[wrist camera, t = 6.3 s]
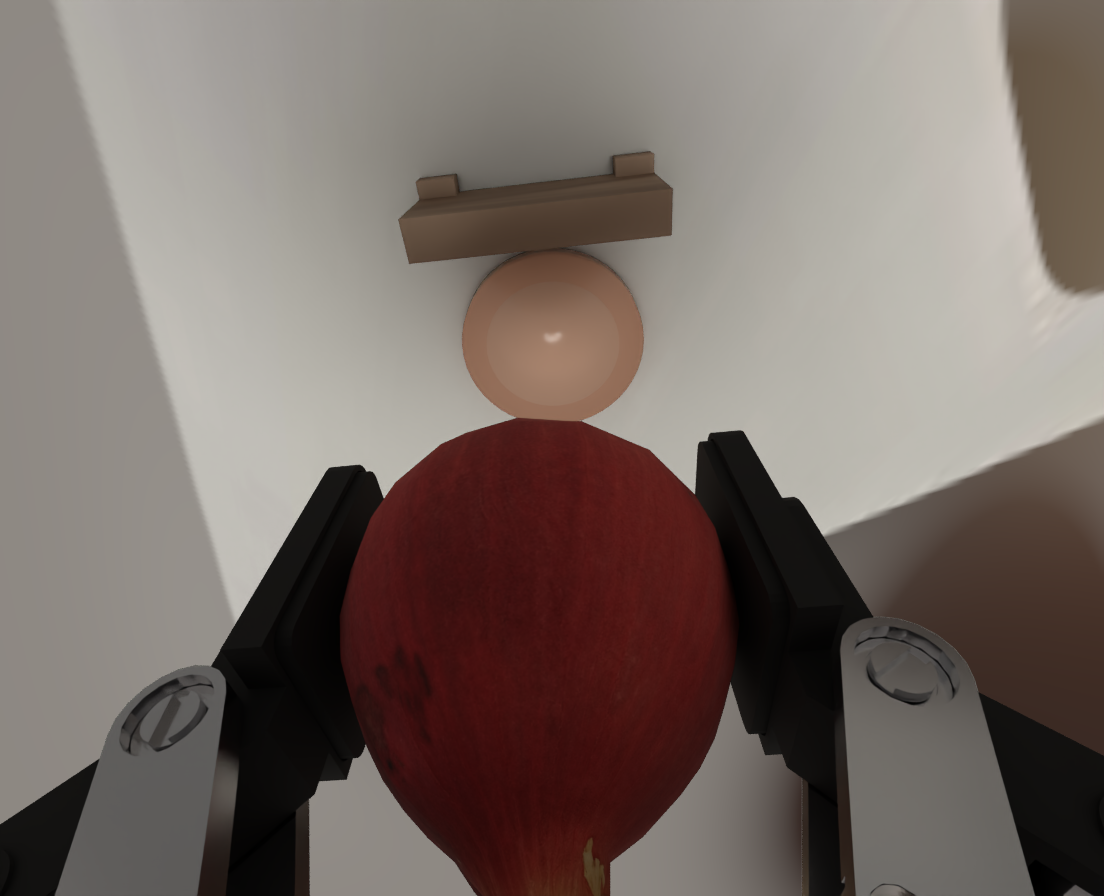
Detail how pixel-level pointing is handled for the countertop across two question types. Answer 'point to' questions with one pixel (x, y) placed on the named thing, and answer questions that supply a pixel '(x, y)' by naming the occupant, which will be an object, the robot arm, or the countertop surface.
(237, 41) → the countertop surface
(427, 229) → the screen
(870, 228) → the countertop surface
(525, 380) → the plate
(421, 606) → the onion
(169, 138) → the countertop surface
